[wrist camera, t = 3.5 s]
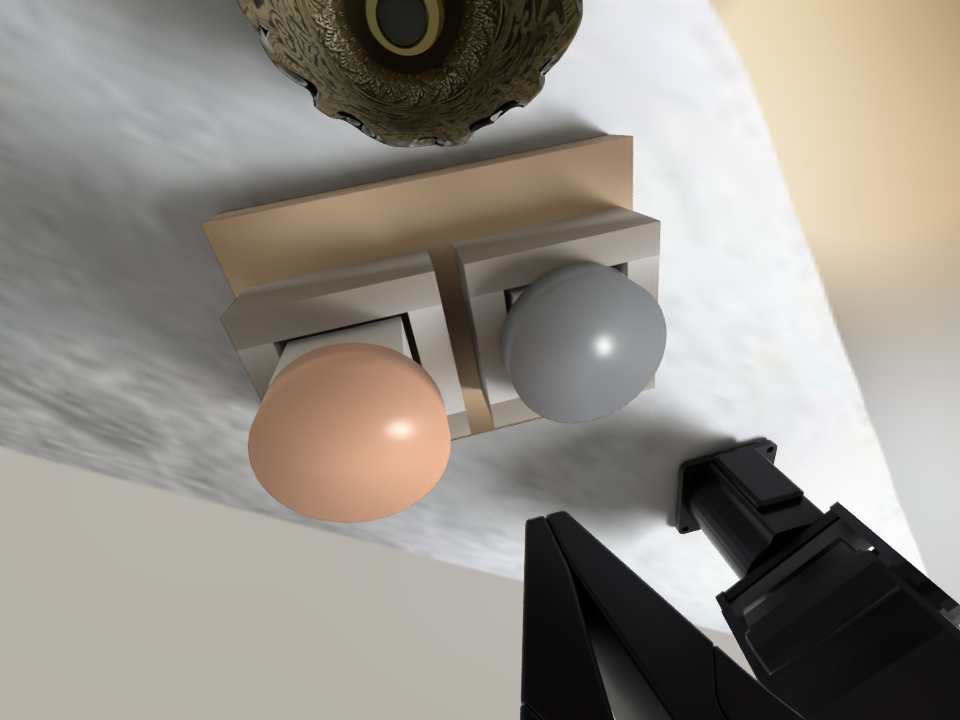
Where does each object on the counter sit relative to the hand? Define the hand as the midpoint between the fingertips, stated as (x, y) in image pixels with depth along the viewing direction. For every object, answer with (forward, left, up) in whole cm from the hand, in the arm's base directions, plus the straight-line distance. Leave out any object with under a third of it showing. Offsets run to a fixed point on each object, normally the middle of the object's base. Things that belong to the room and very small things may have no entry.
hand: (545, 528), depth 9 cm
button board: (0, 0, -13) cm, 13 cm away
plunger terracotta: (0, +4, -9) cm, 10 cm away
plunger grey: (0, -4, -11) cm, 12 cm away
